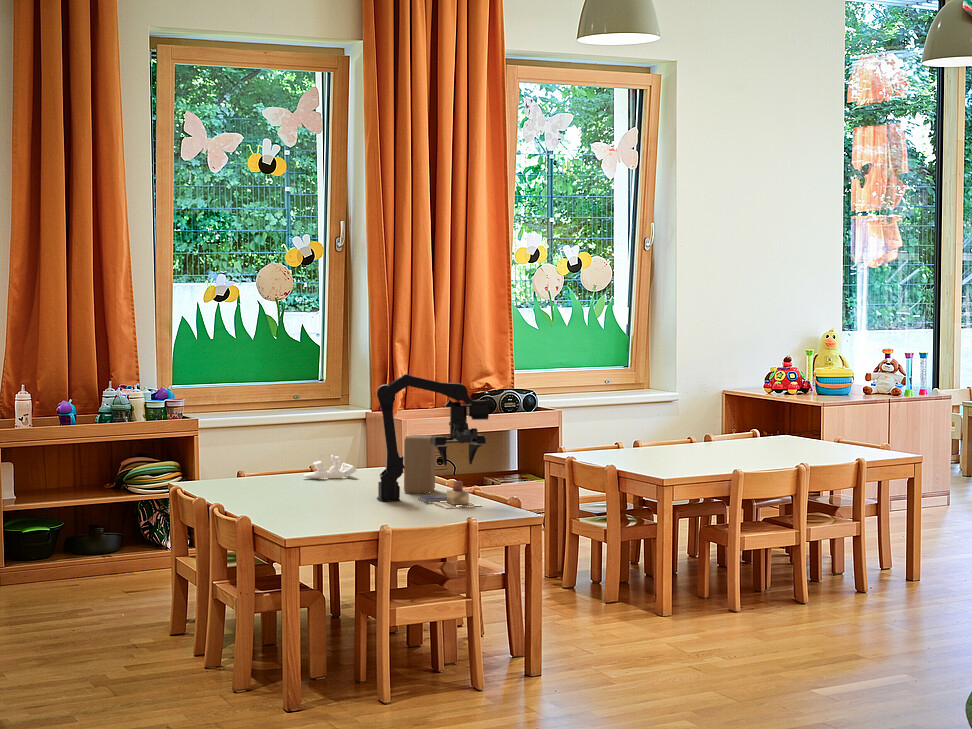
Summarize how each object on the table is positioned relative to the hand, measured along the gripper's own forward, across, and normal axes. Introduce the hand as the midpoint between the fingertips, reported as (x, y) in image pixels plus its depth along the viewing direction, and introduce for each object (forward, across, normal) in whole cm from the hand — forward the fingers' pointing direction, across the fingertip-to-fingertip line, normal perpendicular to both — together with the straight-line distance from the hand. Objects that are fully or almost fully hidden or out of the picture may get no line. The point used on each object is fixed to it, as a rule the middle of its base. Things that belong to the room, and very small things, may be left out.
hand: (458, 464), depth 394 cm
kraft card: (+12, -4, -11) cm, 17 cm away
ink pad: (+12, -9, -1) cm, 15 cm away
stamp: (+12, -4, -11) cm, 17 cm away
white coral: (+12, -29, +64) cm, 72 cm away
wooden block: (+12, -7, +21) cm, 25 cm away
